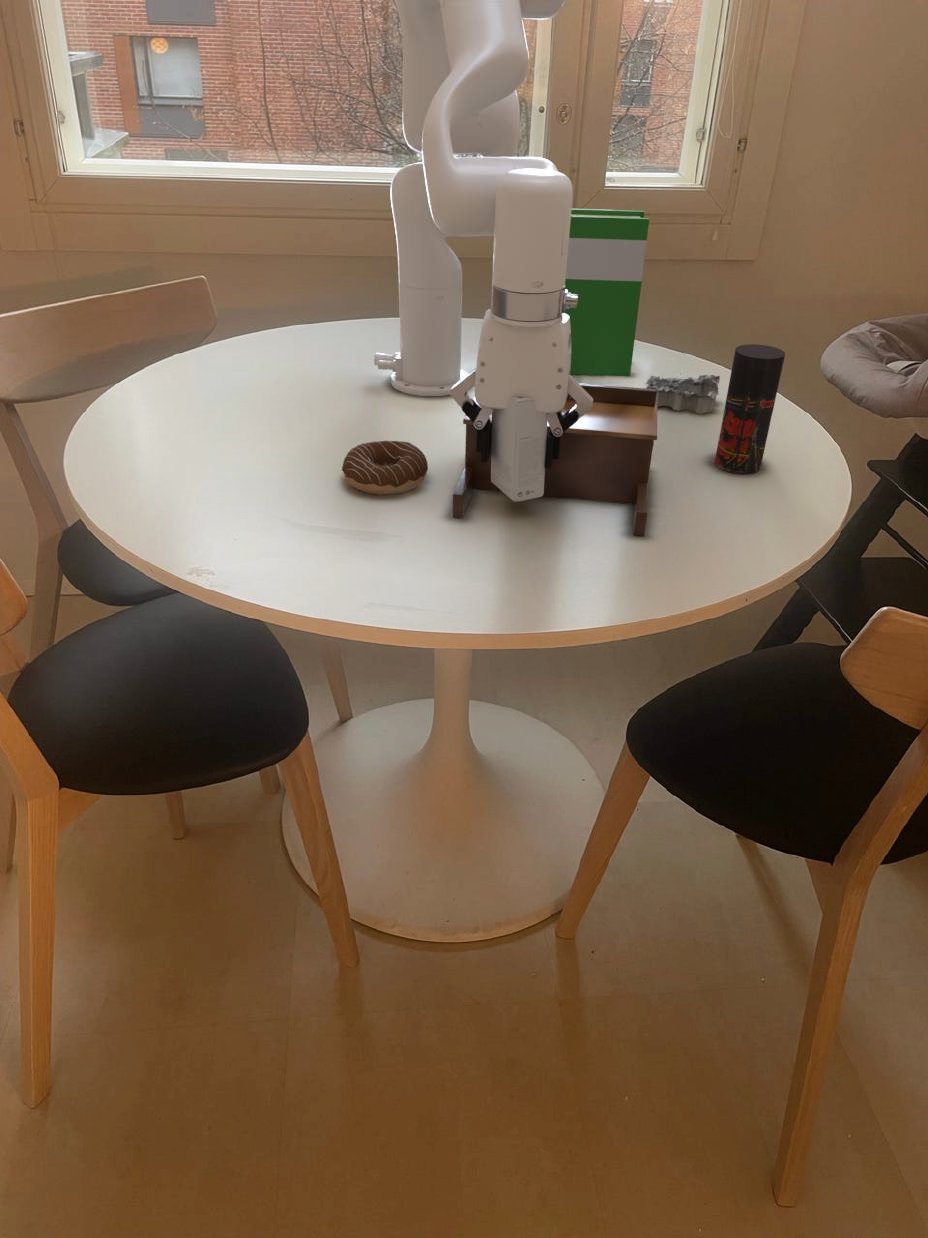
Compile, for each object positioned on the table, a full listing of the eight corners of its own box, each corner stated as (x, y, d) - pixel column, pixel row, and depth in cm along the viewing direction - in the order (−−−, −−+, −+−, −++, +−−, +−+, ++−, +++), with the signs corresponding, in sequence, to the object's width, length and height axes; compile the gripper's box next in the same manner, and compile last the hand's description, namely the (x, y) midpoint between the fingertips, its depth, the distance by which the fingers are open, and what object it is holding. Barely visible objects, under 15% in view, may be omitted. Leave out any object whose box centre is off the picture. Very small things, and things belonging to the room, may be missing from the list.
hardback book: (625, 362, 155) (643, 210, 141) (630, 376, 148) (649, 218, 135) (523, 358, 155) (531, 207, 142) (522, 372, 149) (531, 215, 136)
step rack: (449, 517, 105) (451, 427, 99) (475, 456, 120) (477, 374, 114) (646, 536, 102) (660, 444, 96) (647, 471, 117) (659, 388, 111)
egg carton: (719, 401, 139) (723, 375, 137) (709, 417, 134) (714, 390, 131) (651, 390, 143) (655, 364, 141) (639, 405, 137) (643, 378, 135)
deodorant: (708, 456, 121) (728, 344, 113) (751, 455, 122) (774, 343, 113) (722, 474, 116) (745, 358, 108) (767, 473, 117) (792, 358, 109)
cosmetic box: (545, 496, 104) (553, 396, 98) (511, 503, 103) (517, 402, 96) (519, 475, 109) (526, 377, 102) (486, 481, 107) (491, 382, 100)
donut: (422, 461, 118) (422, 432, 116) (434, 496, 109) (434, 466, 107) (340, 466, 116) (338, 436, 114) (345, 502, 107) (343, 471, 105)
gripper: (612, 299, 96) (594, 455, 106) (452, 287, 98) (449, 441, 108) (609, 319, 89) (590, 482, 100) (438, 306, 92) (436, 467, 102)
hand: (517, 459), depth 104 cm, fingers closed on cosmetic box, 6 cm apart
